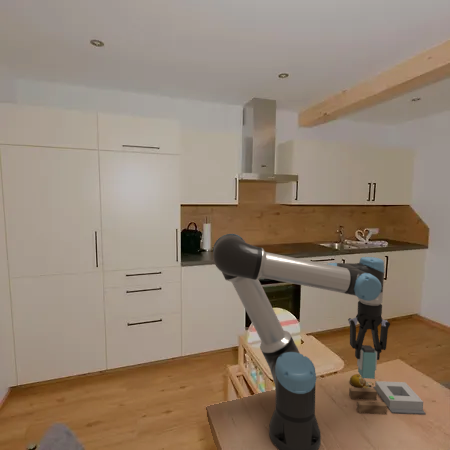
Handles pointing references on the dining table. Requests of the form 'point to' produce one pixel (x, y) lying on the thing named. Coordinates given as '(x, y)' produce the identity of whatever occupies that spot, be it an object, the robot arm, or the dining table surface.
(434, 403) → the dining table surface
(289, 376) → the robot arm
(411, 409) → the port
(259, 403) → the dining table surface
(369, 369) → the plug
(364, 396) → the pair of wooden rails
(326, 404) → the dining table surface
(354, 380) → the fruit
